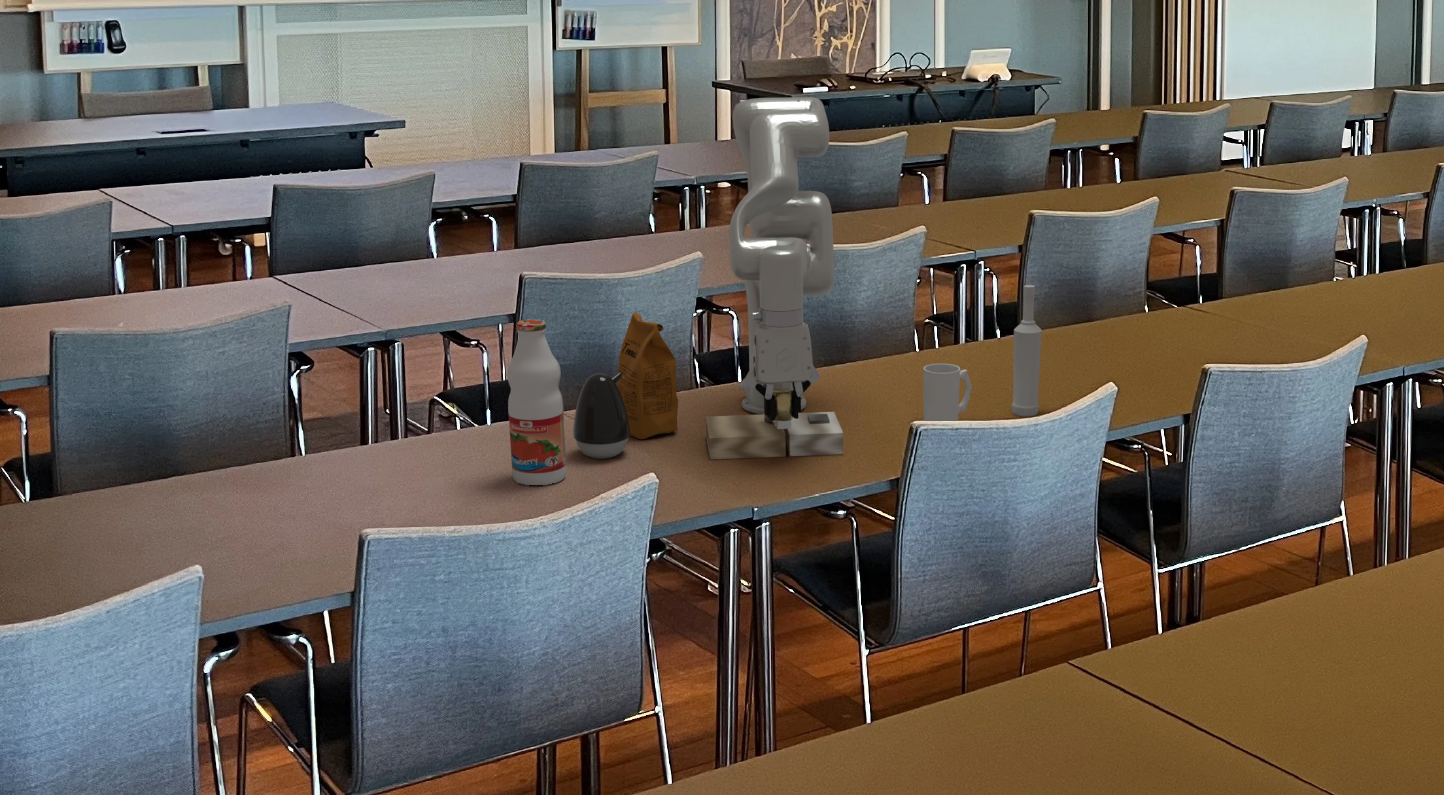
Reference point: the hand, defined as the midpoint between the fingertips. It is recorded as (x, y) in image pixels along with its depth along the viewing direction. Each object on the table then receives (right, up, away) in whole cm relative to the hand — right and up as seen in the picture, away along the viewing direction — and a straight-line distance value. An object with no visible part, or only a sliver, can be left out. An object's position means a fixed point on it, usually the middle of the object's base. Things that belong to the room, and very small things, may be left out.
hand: (782, 416), depth 295 cm
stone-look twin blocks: (-1, -5, +9) cm, 11 cm away
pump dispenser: (-32, -7, +7) cm, 34 cm away
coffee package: (-25, -3, +20) cm, 32 cm away
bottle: (+48, 0, +25) cm, 54 cm away
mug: (+32, -3, +17) cm, 36 cm away
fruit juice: (-43, -11, -5) cm, 44 cm away
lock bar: (-1, -2, +5) cm, 5 cm away
